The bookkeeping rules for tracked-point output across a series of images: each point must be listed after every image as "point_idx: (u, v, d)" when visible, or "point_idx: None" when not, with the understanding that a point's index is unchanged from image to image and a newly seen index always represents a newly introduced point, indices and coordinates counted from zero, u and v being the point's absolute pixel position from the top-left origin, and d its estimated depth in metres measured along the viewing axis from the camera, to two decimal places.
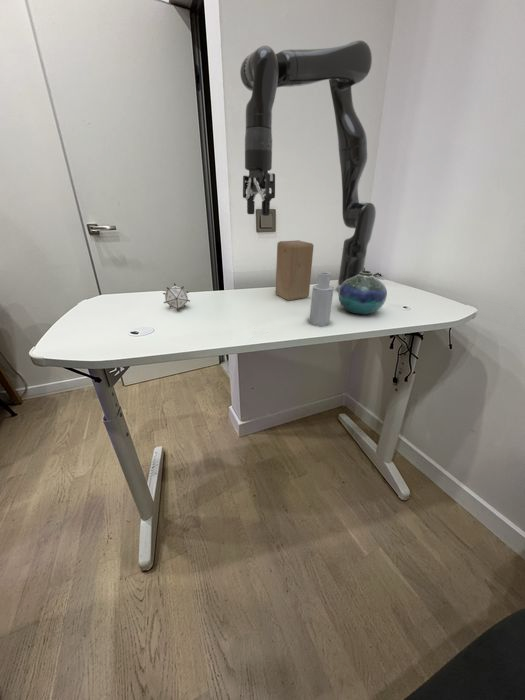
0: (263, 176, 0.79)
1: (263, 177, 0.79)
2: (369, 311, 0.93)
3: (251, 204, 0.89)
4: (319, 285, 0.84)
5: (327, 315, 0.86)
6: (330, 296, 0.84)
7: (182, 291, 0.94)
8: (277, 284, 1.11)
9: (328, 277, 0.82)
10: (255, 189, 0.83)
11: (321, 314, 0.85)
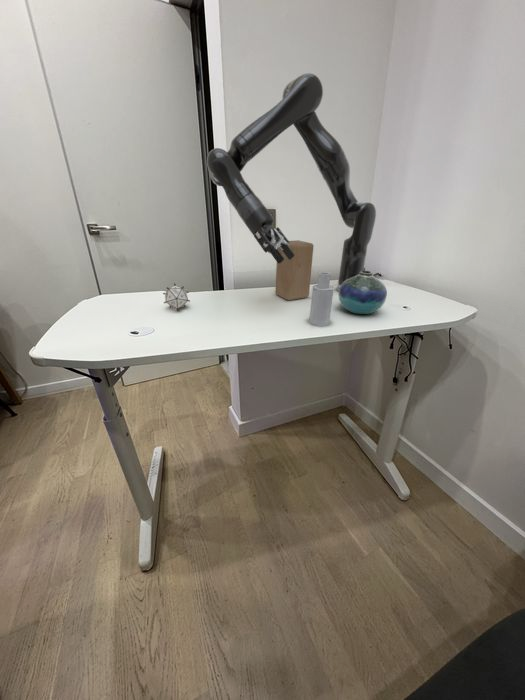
0: None
1: None
2: (369, 311, 0.93)
3: (286, 250, 0.89)
4: (319, 285, 0.84)
5: (327, 315, 0.86)
6: (330, 296, 0.84)
7: (182, 291, 0.94)
8: (277, 284, 1.11)
9: (328, 277, 0.82)
10: None
11: (321, 314, 0.85)
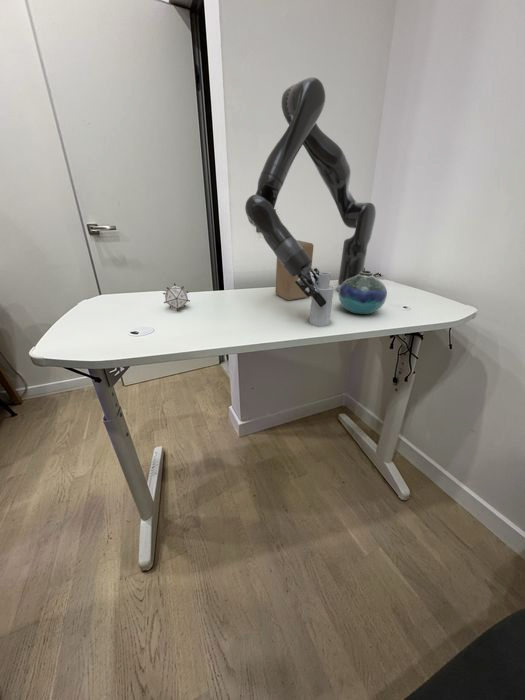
0: None
1: None
2: (369, 311, 0.93)
3: None
4: (319, 285, 0.84)
5: (327, 315, 0.86)
6: (330, 296, 0.84)
7: (182, 291, 0.94)
8: (277, 284, 1.11)
9: (328, 277, 0.82)
10: None
11: (321, 314, 0.85)
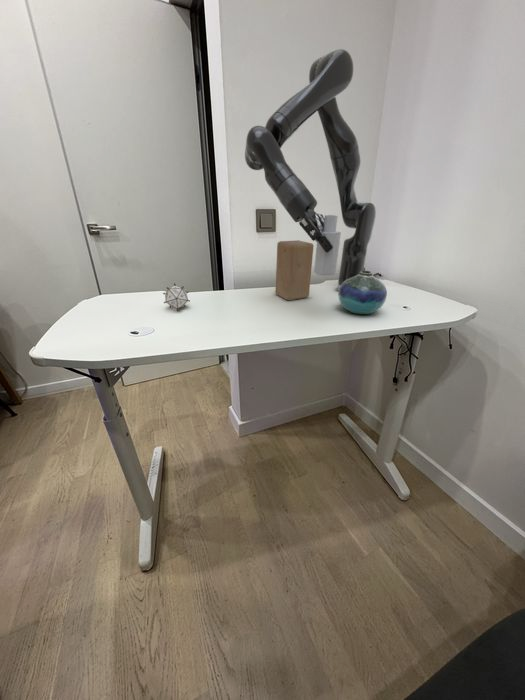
0: None
1: None
2: (369, 311, 0.93)
3: None
4: (325, 229, 0.77)
5: (333, 263, 0.79)
6: (337, 241, 0.77)
7: (182, 291, 0.94)
8: (277, 284, 1.11)
9: (335, 219, 0.75)
10: None
11: (327, 262, 0.79)
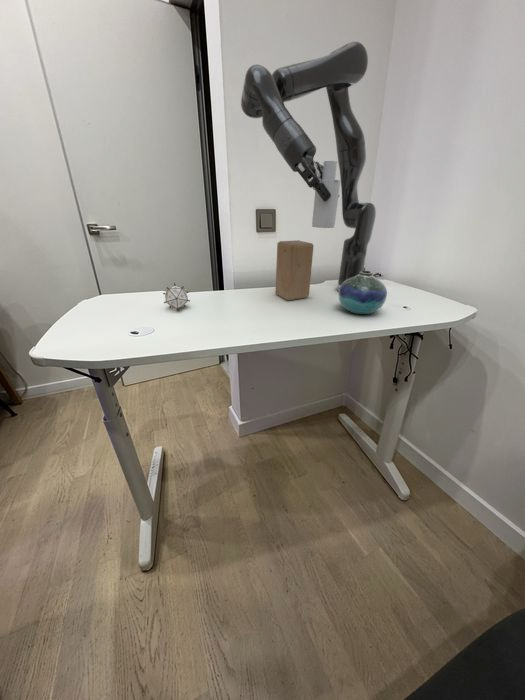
0: None
1: None
2: (369, 311, 0.93)
3: None
4: (323, 176, 0.73)
5: (332, 214, 0.75)
6: (336, 189, 0.73)
7: (182, 291, 0.94)
8: (277, 284, 1.11)
9: (334, 165, 0.71)
10: None
11: (326, 212, 0.75)
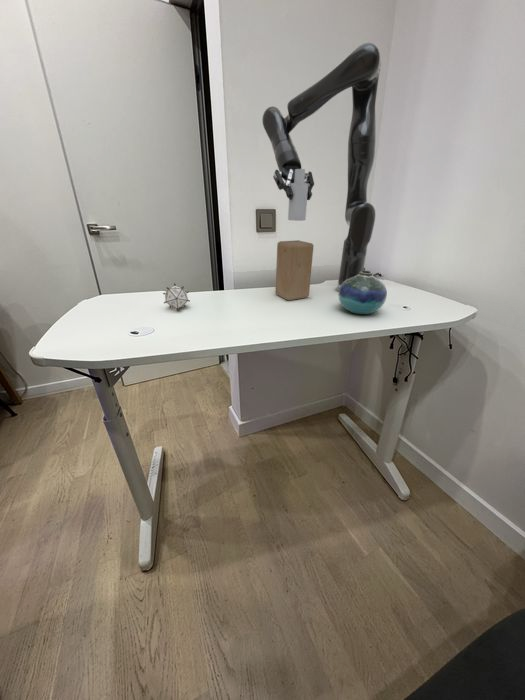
0: (280, 175, 0.98)
1: (280, 175, 0.98)
2: (369, 311, 0.93)
3: None
4: (294, 181, 0.96)
5: (297, 210, 0.97)
6: (299, 190, 0.94)
7: (182, 291, 0.94)
8: (277, 284, 1.11)
9: (299, 172, 0.93)
10: None
11: (292, 208, 0.97)
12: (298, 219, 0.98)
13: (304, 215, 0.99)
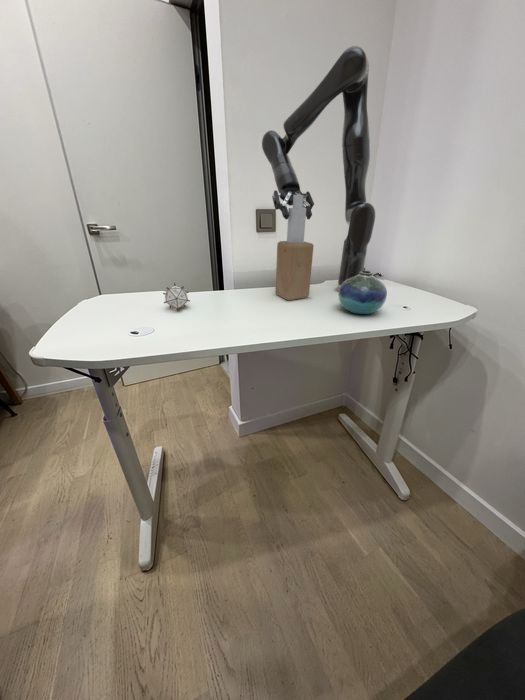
0: (279, 196, 1.01)
1: (280, 197, 1.01)
2: (369, 311, 0.93)
3: (306, 211, 1.02)
4: None
5: (295, 233, 1.00)
6: (297, 215, 0.98)
7: (182, 291, 0.94)
8: (277, 284, 1.11)
9: (297, 197, 0.96)
10: None
11: (290, 231, 1.01)
12: (296, 242, 1.02)
13: (302, 238, 1.02)
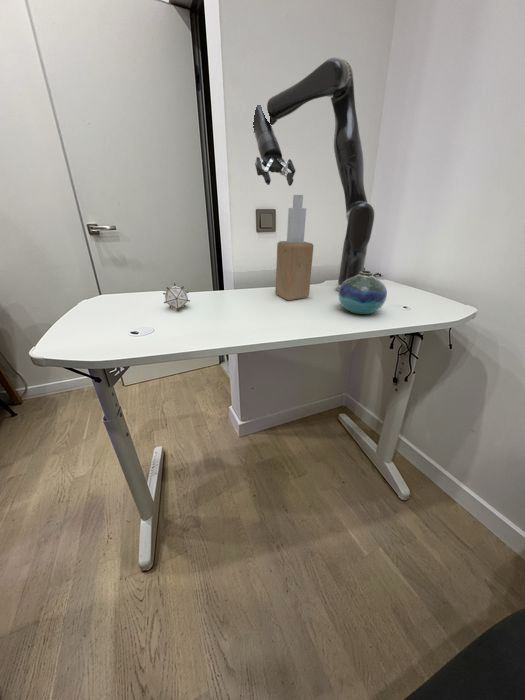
0: (262, 163, 1.05)
1: None
2: (369, 311, 0.93)
3: (288, 178, 1.06)
4: None
5: (295, 233, 1.00)
6: (297, 215, 0.98)
7: (182, 291, 0.94)
8: (277, 284, 1.11)
9: (297, 197, 0.96)
10: None
11: (290, 231, 1.01)
12: (296, 242, 1.02)
13: (302, 238, 1.02)
